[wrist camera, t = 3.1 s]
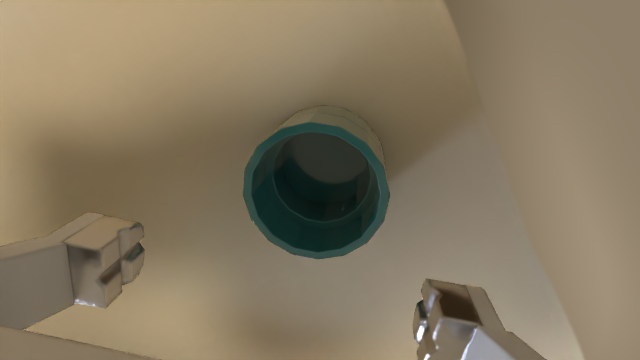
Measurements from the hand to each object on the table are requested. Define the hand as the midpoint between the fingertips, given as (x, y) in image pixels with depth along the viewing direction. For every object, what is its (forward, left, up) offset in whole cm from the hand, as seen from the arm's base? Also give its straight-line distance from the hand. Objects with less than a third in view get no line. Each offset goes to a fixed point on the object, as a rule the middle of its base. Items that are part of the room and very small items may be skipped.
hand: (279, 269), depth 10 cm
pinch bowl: (0, 0, -11) cm, 11 cm away
